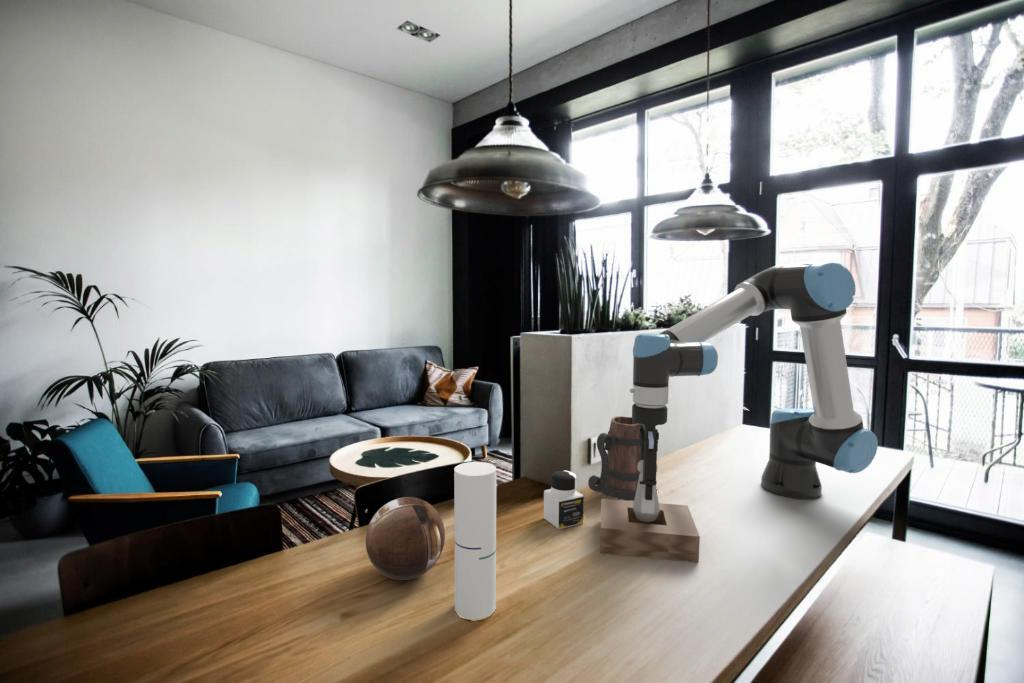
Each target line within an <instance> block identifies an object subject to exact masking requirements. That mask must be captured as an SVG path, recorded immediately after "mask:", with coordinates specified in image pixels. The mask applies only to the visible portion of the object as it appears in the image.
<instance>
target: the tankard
mask: <svg viewBox="0 0 1024 683" xmlns="http://www.w3.org/2000/svg"><path fill="white" fill-rule="evenodd" d="M641 425H643V424H638V423H635V422H634V421H633V420H632V416H619V415H618V416H614V417H612V418H611V420H610V425H609V430H608V431H607V433H605V432H601V433H599V435H598V436H597V439H596V447H597V448H596V449H597V450H598V454H599V455H600V460H601V461H600V462H601V468H600V470H601V471H600V476H597V475H594V474H593V475H591V476H590V477H589V478H588V482H587V484H588V488H589V489H590V490H591V491H594V492H595V493H601V494H603V495H605V496H607V497H608V498H611V499H615V498H617V499H616V500H620V499H623V500H624V501H627V500H634V499H635V495H636V490H637V485H638V480H639V475H640V472H639V471H638V469H637V466H638V462H639V461H640V452H641V446H640V436H639V428H641Z"/></svg>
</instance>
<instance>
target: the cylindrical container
mask: <svg viewBox="0 0 1024 683" xmlns="http://www.w3.org/2000/svg"><path fill="white" fill-rule="evenodd" d="M453 470H454V474H453V476H454V478H453V480H454V484H453V485H454V489H453V490H454V492H453V494H454V502H453V503H454V505H453V509H454V512H453V513H454V514H453V515H454V516H453V517H454V527H453V528H454V612H455V611H456V612H457V613H458V614H459V615H461V616H462V617H464V618H467V619H475V620H476V619H481V618H485V617H487V616H490V615H491V614H492V613H493V612H494V611H495V609H496V610H497V466H496V465H495V464H492V463H489V462H483V461H469V462H468V461H467V462H463V463H459V464H458V465H456V466H455V467H454V468H453ZM495 612H496V611H495Z"/></svg>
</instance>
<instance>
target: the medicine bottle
mask: <svg viewBox="0 0 1024 683" xmlns="http://www.w3.org/2000/svg"><path fill="white" fill-rule="evenodd" d="M577 477H578V476H577V475H576V473H575V472H572V471H569V470H564V469H563V470H557V471H554V472H553V473H552V474H551V476H550V478H551V480H550V481H551V482H550V483H551V484H550V488H549V489H545V490H544V491H543V519H545V521H547V522H548V523H549V524H551V525H553V527H556V529H558V530H563V529H566V528H570V527H571V528H572V527H574V526H578V525H582V524H584V513H585V512H584V511H585V510H584V506H585V505H584V503H585V502H584V501H585V495H584V494H583V493H580V492H579V491H577Z"/></svg>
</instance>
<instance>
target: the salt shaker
mask: <svg viewBox="0 0 1024 683" xmlns="http://www.w3.org/2000/svg"><path fill="white" fill-rule="evenodd" d="M637 469H638V471H639V472H640V475H639V480H638V485H637V490H636V495H635V499H634V504H633V510H634V512H635V515H636V518H638V519H639V520H641V521H645V522H651V521H654V520H656V518H657V516H658V514H659V511H660V506H659V503H660V502H659V494H658V495H657V490H658V488H657V484H656V485H655V505H654V514H649V513H641V499H642V484H640V483H639V481H642V480H643V460H641V461H639V462H638V466H637ZM657 472H658V466H657V467H656V473H657ZM656 488H657V489H656Z"/></svg>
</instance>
